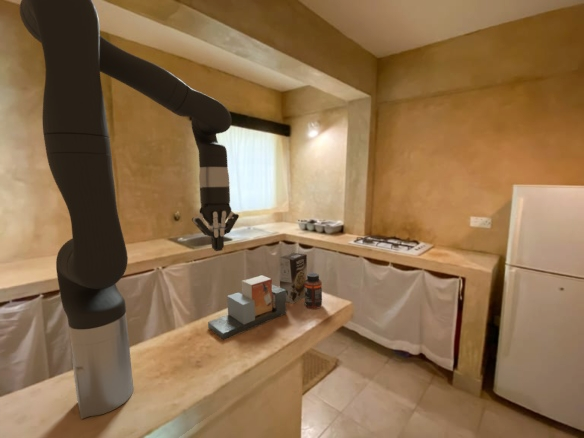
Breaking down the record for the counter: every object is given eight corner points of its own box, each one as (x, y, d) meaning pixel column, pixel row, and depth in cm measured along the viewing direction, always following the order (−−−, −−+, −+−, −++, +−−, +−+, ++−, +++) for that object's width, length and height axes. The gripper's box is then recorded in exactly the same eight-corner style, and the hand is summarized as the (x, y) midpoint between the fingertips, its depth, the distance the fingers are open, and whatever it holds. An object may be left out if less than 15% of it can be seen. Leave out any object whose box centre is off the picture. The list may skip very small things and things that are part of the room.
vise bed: (223, 340, 77) (222, 312, 76) (208, 328, 84) (206, 302, 83) (286, 313, 92) (285, 289, 91) (269, 304, 99) (268, 283, 98)
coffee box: (293, 304, 99) (292, 259, 97) (279, 299, 103) (278, 257, 101) (307, 295, 107) (307, 254, 105) (294, 291, 111) (293, 251, 108)
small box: (252, 318, 85) (251, 285, 84) (242, 312, 89) (241, 280, 88) (273, 310, 90) (272, 278, 89) (262, 304, 95) (261, 274, 93)
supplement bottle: (324, 304, 99) (324, 273, 97) (317, 311, 94) (317, 278, 92) (309, 300, 102) (309, 270, 100) (301, 307, 97) (301, 275, 95)
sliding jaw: (243, 324, 81) (243, 304, 81) (228, 314, 88) (227, 295, 87) (255, 319, 84) (254, 300, 83) (239, 310, 91) (238, 292, 90)
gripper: (229, 185, 80) (232, 244, 82) (183, 185, 71) (188, 252, 74) (244, 184, 75) (246, 248, 77) (196, 185, 66) (200, 257, 68)
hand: (217, 250), depth 75 cm, fingers closed
